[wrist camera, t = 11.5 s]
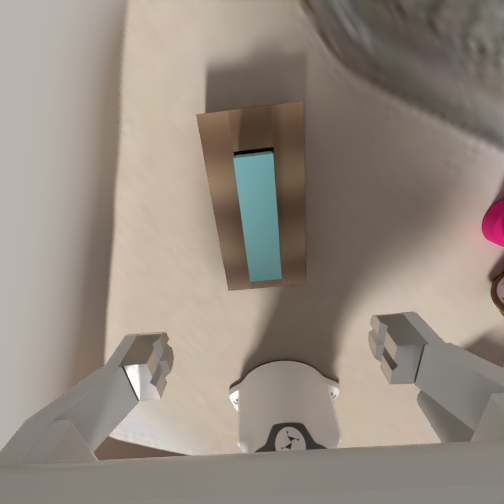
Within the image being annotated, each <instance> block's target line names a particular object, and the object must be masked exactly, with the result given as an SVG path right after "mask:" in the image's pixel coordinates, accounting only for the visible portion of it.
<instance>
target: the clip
mask: <svg viewBox="0 0 504 504" xmlns="http://www.w3.org/2000/svg"><path fill="white" fill-rule="evenodd" d="M233 160H234V167H235V175H236V182H237V189H238V197H239V204H240V211H241V219H242V226H243V233H244V241H245V248H246V255H247V263H248V270H249V277H250V282H254V281H265V280H276V279H282V274H281V260H280V245H279V230H278V215H277V200H276V185H275V171H274V156H273V153H272V152H271V151H268V152H260V153H251V154H243V155H236V156H235V157H234V158H233Z"/></svg>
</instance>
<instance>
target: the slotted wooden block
mask: <svg viewBox="0 0 504 504" xmlns="http://www.w3.org/2000/svg"><path fill="white" fill-rule="evenodd" d="M196 116H197V122H198V127H199V133H200V138H201V143H202V149H203V154H204V160H205V165H206V171H207V176H208V181H209V187H210V192H211V198H212V203H213V209H214V214H215V219H216V225H217V230H218V236H219V241H220V247H221V252H222V257H223V263H224V268H225V274H226V279H227V285H228V290H229V291H230V290H242V289H254V288H265V287H277V286H288V285H300V284H306V233H305V156H304V101H297V102H289V103H282V104H274V105H266V106H258V107H251V108H243V109H235V110H227V111H219V112H212V113H204V114H196ZM268 147H271V152H272V153H273V156H274V171H275V185H276V200H277V215H278V230H279V245H280V260H281V274H282V279H276V280H265V281H254V282H250V277H249V270H248V263H247V255H246V248H245V241H244V233H243V226H242V219H241V211H240V204H239V197H238V189H237V182H236V175H235V167H234V160H233V158H234V157H235V156H236V155H237V151H243V150H251V149H260V148H268Z"/></svg>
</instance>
